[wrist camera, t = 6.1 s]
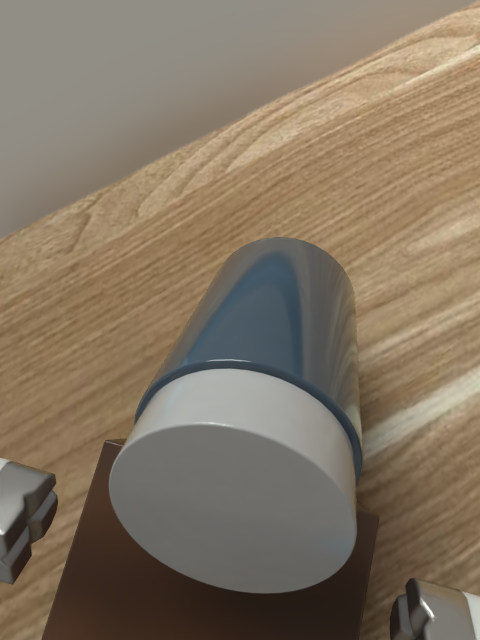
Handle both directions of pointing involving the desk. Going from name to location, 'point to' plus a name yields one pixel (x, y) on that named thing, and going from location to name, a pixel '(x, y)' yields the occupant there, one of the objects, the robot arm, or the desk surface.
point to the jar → (252, 428)
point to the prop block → (190, 588)
